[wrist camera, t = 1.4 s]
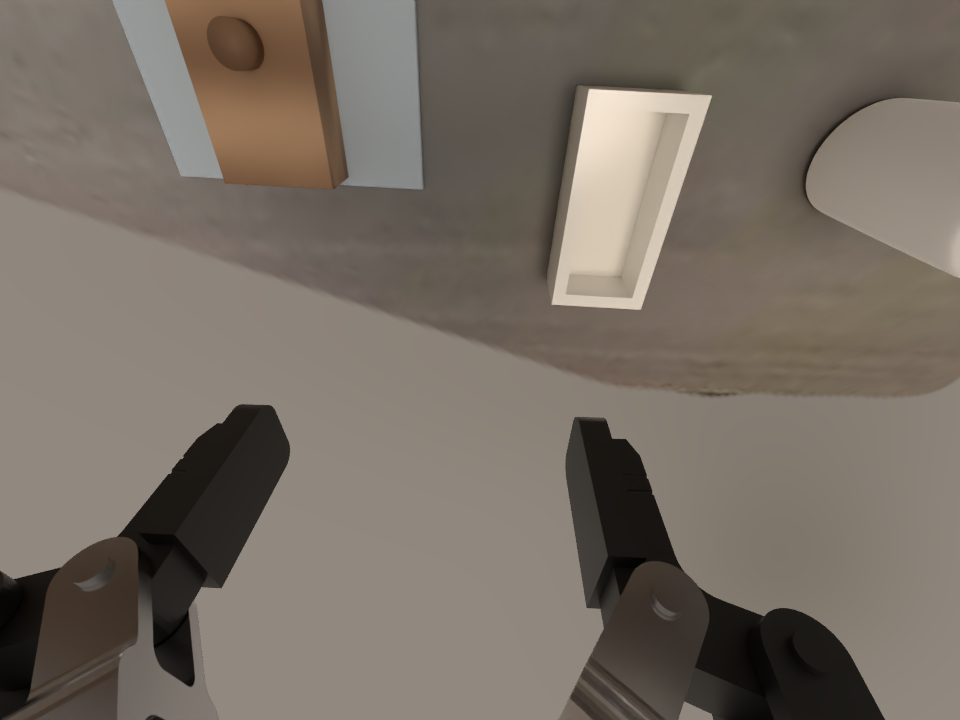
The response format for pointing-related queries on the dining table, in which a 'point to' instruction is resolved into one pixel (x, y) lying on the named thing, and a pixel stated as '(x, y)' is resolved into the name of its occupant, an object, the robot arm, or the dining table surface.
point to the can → (896, 177)
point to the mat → (357, 75)
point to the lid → (264, 89)
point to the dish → (619, 191)
